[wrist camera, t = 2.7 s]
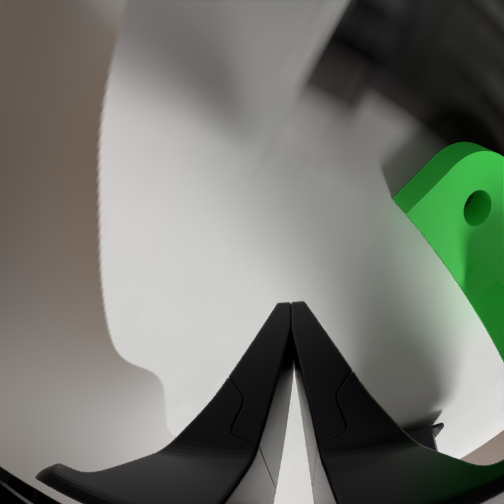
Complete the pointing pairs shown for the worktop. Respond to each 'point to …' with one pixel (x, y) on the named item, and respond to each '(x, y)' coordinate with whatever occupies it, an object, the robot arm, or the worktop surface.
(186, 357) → the worktop surface
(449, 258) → the mechanical part
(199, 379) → the worktop surface
